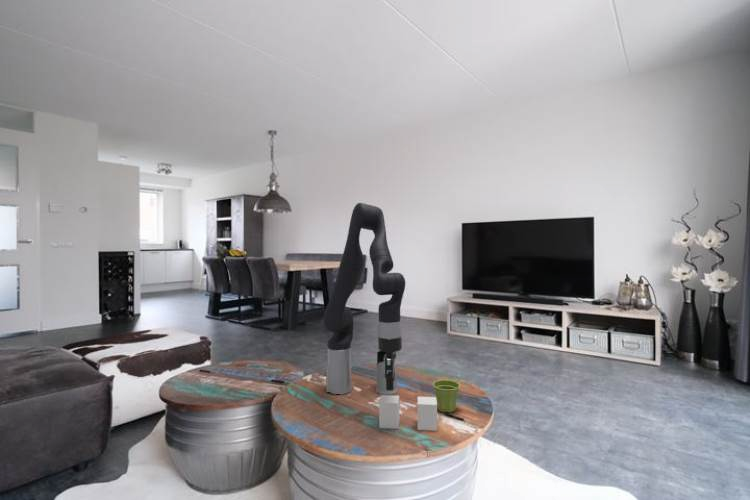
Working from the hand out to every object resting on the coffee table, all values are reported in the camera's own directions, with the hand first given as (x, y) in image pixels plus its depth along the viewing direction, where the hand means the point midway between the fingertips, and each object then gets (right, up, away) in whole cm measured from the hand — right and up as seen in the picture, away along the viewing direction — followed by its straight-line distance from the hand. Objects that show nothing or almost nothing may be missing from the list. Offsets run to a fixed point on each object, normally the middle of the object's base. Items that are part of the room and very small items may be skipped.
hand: (390, 385), depth 121 cm
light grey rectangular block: (+12, -12, -1) cm, 17 cm away
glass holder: (0, -13, +31) cm, 33 cm away
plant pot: (+20, -13, +11) cm, 26 cm away
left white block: (0, -13, 0) cm, 13 cm away
